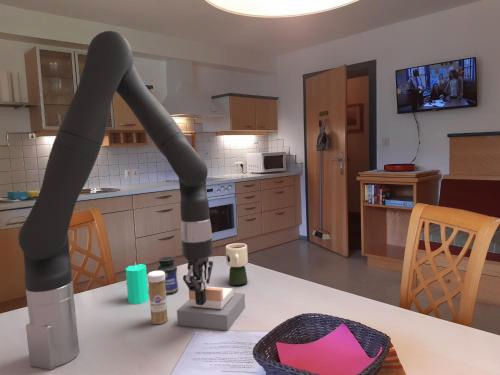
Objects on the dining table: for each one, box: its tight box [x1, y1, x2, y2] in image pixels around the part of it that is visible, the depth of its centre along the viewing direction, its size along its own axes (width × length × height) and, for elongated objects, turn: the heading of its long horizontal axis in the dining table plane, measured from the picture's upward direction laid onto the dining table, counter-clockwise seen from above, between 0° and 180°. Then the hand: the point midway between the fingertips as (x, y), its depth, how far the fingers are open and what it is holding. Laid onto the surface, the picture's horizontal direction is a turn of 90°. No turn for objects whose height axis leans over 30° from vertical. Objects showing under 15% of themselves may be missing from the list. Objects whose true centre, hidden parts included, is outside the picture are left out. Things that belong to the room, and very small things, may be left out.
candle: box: [125, 262, 149, 305], centre depth 116 cm, size 6×6×12 cm
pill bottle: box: [157, 256, 179, 296], centre depth 122 cm, size 6×6×11 cm
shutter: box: [188, 286, 234, 309], centre depth 103 cm, size 9×9×5 cm
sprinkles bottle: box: [147, 270, 169, 325], centre depth 101 cm, size 5×5×14 cm
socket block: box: [176, 292, 246, 331], centre depth 104 cm, size 14×14×4 cm
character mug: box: [225, 242, 249, 286], centre depth 126 cm, size 11×7×13 cm, turn 2°
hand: (201, 303), depth 96 cm, fingers closed
